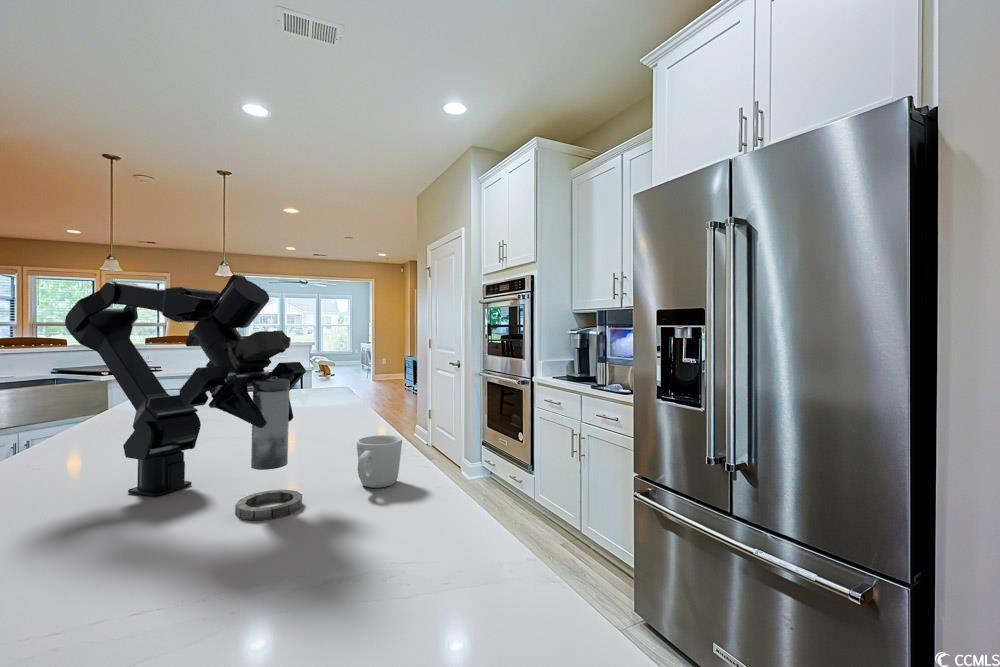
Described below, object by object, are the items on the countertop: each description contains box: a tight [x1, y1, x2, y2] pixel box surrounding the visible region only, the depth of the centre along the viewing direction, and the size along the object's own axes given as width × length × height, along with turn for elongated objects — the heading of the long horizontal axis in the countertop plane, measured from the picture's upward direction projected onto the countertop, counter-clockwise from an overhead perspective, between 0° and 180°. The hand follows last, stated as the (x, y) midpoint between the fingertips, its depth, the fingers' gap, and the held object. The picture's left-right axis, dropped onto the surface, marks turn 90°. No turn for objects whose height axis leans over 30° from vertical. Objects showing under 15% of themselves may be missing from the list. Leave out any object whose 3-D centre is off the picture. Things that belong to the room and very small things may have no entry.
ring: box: [234, 489, 303, 522], centre depth 70 cm, size 9×9×1 cm
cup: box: [356, 434, 403, 489], centre depth 81 cm, size 11×8×8 cm
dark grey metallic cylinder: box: [250, 379, 290, 471], centre depth 70 cm, size 5×5×13 cm
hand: (277, 422), depth 69 cm, fingers closed on dark grey metallic cylinder, 5 cm apart
